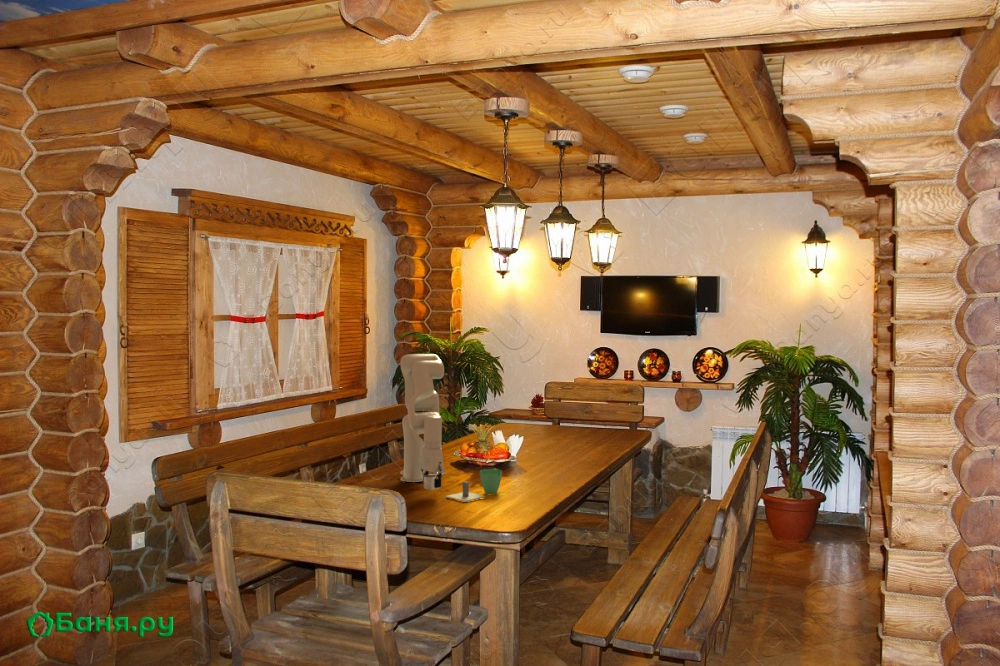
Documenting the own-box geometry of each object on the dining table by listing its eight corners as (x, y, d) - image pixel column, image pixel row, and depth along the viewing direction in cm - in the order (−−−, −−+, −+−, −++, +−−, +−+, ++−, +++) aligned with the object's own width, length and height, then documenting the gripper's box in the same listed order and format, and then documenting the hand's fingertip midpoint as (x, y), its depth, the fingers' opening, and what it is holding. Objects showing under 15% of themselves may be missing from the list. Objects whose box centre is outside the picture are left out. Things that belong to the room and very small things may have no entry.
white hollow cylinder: (420, 487, 353) (420, 475, 353) (432, 484, 358) (433, 473, 357) (431, 490, 348) (431, 478, 348) (443, 487, 353) (443, 476, 353)
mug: (499, 496, 357) (499, 474, 357) (477, 495, 359) (477, 472, 359) (506, 489, 371) (506, 467, 371) (484, 488, 373) (484, 466, 373)
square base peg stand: (445, 498, 354) (445, 482, 353) (466, 493, 362) (466, 477, 362) (464, 503, 345) (465, 486, 345) (485, 498, 354) (485, 482, 354)
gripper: (412, 442, 355) (412, 483, 356) (439, 449, 343) (438, 491, 344) (426, 440, 360) (425, 480, 362) (452, 446, 348) (452, 488, 349)
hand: (432, 485), depth 353 cm, fingers closed on white hollow cylinder, 6 cm apart
